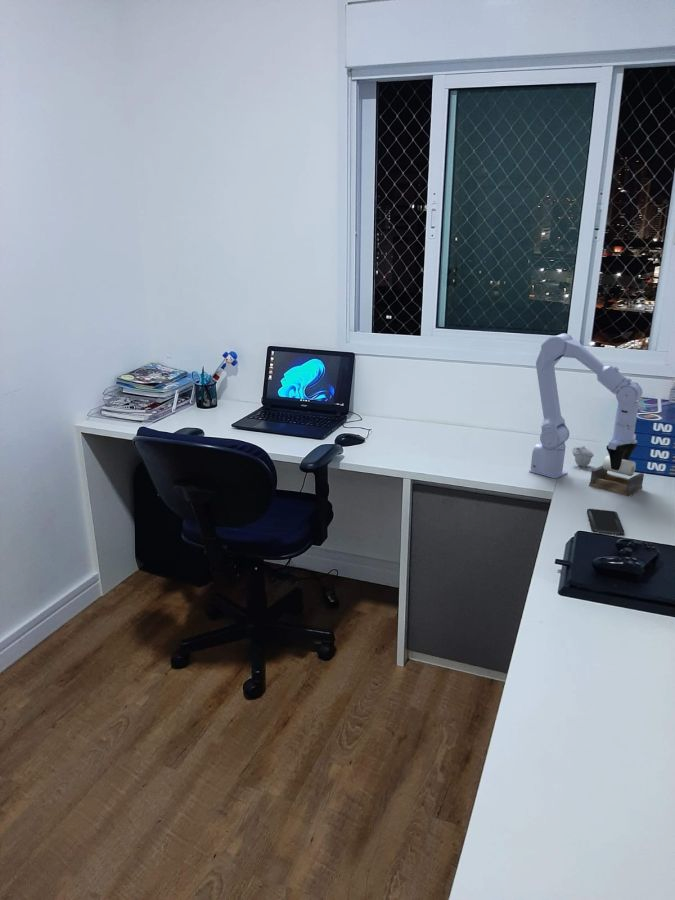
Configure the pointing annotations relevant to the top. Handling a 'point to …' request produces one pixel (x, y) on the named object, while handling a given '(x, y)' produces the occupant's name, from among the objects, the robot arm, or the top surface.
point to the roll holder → (616, 482)
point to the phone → (605, 522)
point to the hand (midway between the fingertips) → (618, 467)
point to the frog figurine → (582, 455)
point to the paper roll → (625, 468)
